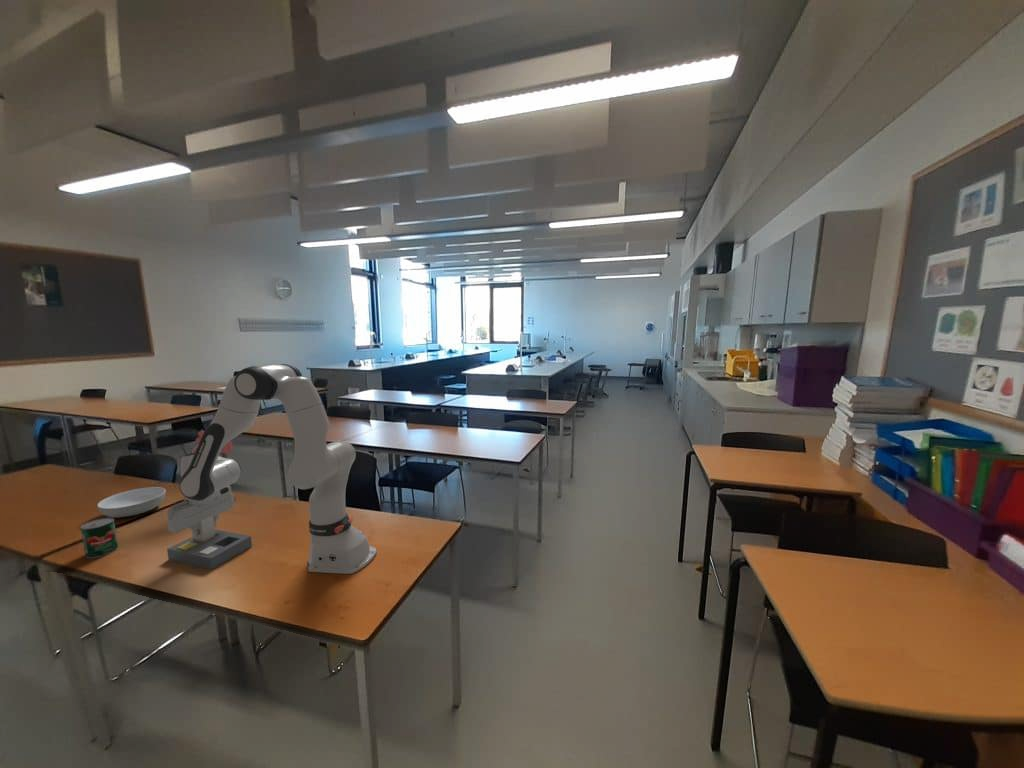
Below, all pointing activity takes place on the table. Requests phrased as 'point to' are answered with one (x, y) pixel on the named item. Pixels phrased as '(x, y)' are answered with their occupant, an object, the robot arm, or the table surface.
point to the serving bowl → (132, 502)
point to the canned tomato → (99, 537)
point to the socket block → (210, 549)
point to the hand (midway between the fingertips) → (204, 531)
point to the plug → (205, 529)
